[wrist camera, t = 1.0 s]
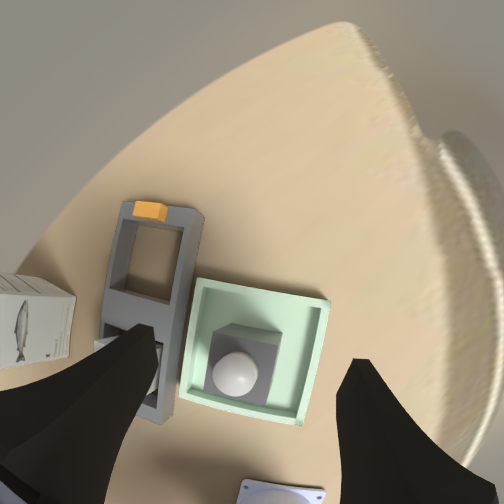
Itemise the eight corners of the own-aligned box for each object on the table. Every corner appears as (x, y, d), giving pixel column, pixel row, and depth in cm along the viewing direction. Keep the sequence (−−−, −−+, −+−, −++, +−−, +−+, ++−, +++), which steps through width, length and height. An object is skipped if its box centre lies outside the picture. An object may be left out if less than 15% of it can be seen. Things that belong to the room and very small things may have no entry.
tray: (301, 417, 20) (301, 426, 18) (186, 390, 21) (178, 396, 20) (328, 300, 21) (331, 301, 19) (204, 278, 22) (197, 277, 21)
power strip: (172, 414, 21) (154, 431, 18) (111, 389, 23) (88, 399, 19) (204, 217, 23) (188, 204, 20) (137, 208, 24) (115, 197, 21)
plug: (272, 381, 20) (262, 415, 14) (223, 370, 21) (194, 398, 14) (282, 332, 20) (276, 351, 14) (231, 322, 21) (204, 335, 15)
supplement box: (70, 359, 24) (-22, 376, 11) (34, 331, 25) (-47, 335, 13) (79, 296, 24) (-22, 291, 12) (42, 275, 26) (-44, 263, 14)
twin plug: (160, 386, 22) (120, 410, 16) (124, 372, 23) (80, 389, 16) (165, 346, 22) (123, 361, 16) (128, 333, 23) (81, 342, 17)
